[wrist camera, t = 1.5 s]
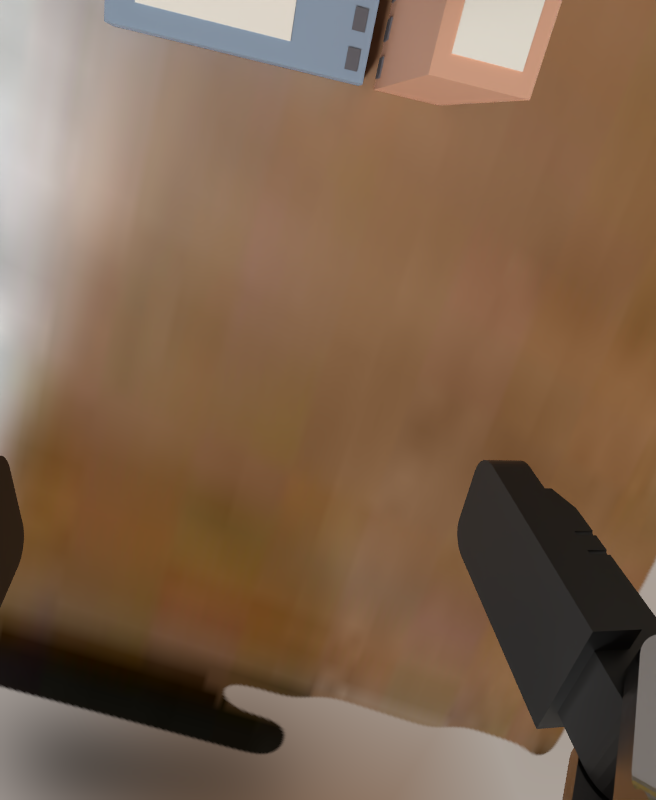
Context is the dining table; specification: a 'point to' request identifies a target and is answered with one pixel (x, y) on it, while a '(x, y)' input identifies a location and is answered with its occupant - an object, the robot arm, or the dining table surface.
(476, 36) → the tan rectangular block
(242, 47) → the blue panel box
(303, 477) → the dining table surface
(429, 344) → the dining table surface
